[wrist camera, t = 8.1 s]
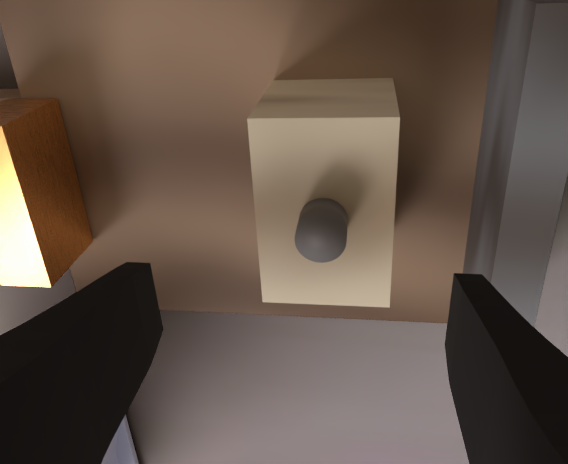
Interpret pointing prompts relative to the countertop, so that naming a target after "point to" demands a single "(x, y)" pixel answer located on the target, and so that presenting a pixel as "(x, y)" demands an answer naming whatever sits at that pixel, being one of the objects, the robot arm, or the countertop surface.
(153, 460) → the countertop surface
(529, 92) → the press bed
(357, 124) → the block
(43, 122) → the block
